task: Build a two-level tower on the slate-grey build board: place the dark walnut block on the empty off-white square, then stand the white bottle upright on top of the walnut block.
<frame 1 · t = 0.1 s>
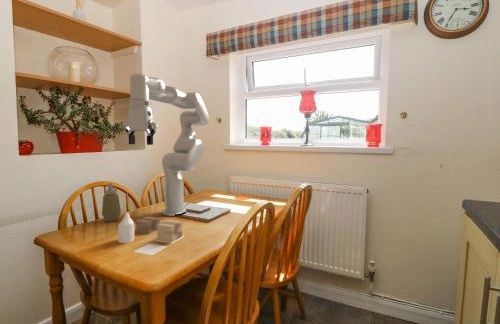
hand: (140, 144, 122), 37 cm above the table, tool pointing down, fingers open, 9 cm apart
squeeze bottle: (111, 220, 134), on the table
build board: (160, 246, 103), on the table
walnut block: (148, 233, 117), on the table
white bottle: (126, 243, 105), on the table
oak block: (169, 238, 108), point 1 cm above the table, touching build board
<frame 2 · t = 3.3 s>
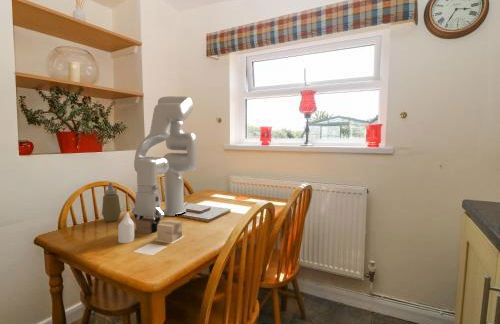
hand: (148, 230, 116), 1 cm above the table, tool pointing down, fingers closed on walnut block, 6 cm apart
walnut block: (148, 233, 117), on the table, touching gripper
everything else where it was.
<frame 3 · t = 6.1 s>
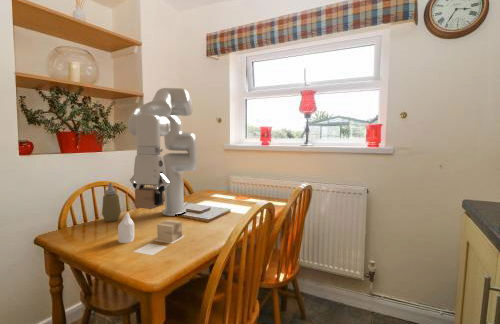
hand: (149, 203, 96), 18 cm above the table, tool pointing down, fingers closed on walnut block, 6 cm apart
walnut block: (149, 206, 96), point 17 cm above the table, touching gripper
everything else where it was.
when the fingers open (3 cm above the table, at t = 9.2 s): walnut block stays where it is, resting on build board.
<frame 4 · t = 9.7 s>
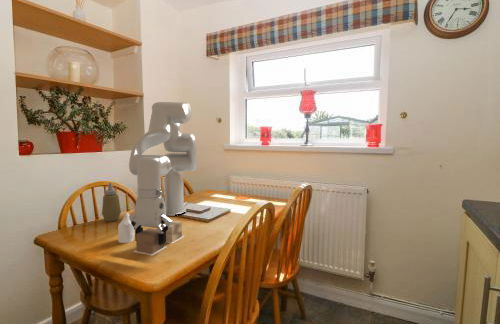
hand: (150, 241, 97), 4 cm above the table, tool pointing down, fingers open, 9 cm apart
walnut block: (150, 248, 97), point 1 cm above the table, touching build board
everything else where it was.
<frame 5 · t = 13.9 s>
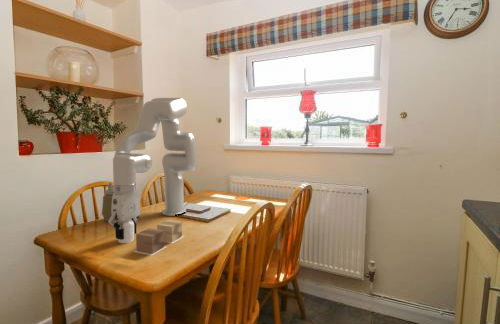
hand: (126, 235, 105), 3 cm above the table, tool pointing down, fingers closed on white bottle, 5 cm apart
white bottle: (126, 243, 105), on the table, touching gripper
everything else where it was.
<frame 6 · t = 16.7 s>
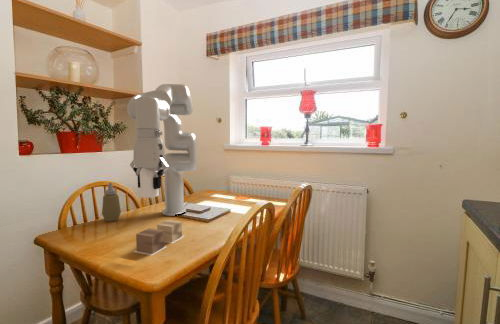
hand: (149, 187, 95), 23 cm above the table, tool pointing down, fingers closed on white bottle, 5 cm apart
white bottle: (149, 196, 96), point 20 cm above the table, touching gripper
everything else where it was.
when the fingers open (11 cm above the table, at t = 19.8 s): white bottle stays where it is, resting on walnut block.
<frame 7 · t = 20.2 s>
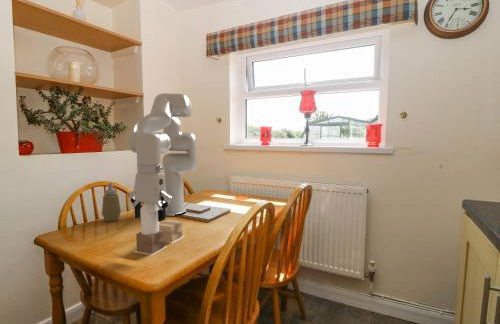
hand: (150, 218, 96), 12 cm above the table, tool pointing down, fingers open, 9 cm apart
walnut block: (150, 249, 97), point 1 cm above the table, touching build board, white bottle
white bottle: (150, 232, 97), point 7 cm above the table, touching walnut block
everything else where it was.
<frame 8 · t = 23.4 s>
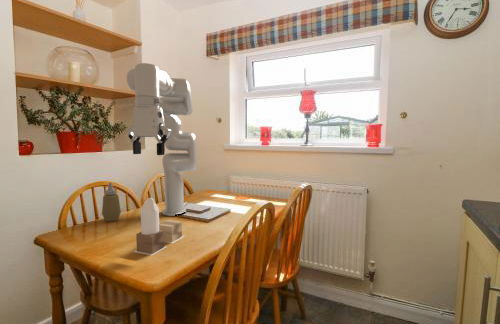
hand: (148, 154, 94), 34 cm above the table, tool pointing down, fingers open, 9 cm apart
nothing on the table moved.
at the end: walnut block 0.0 cm from the target spot, point 1.3 cm above the table; white bottle 0.3 cm from the walnut block (horizontally); white bottle point 7.1 cm above the table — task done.
